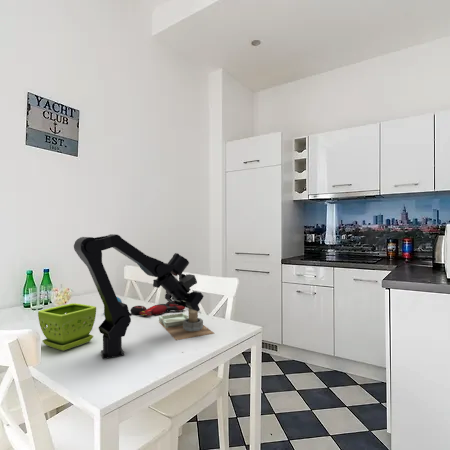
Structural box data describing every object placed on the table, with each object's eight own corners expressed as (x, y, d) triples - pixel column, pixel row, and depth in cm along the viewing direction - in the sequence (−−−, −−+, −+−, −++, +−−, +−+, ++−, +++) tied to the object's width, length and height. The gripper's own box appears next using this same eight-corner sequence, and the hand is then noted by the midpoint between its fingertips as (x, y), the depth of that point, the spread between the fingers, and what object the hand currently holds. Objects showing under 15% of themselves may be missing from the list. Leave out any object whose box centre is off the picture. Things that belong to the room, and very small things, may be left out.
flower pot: (98, 341, 112) (97, 306, 112) (60, 355, 100) (60, 316, 100) (74, 335, 119) (73, 301, 119) (36, 347, 107) (36, 310, 107)
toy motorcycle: (128, 315, 149) (137, 318, 135) (128, 304, 150) (137, 306, 136) (177, 309, 162) (190, 312, 148) (177, 299, 162) (189, 300, 149)
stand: (214, 336, 116) (214, 325, 116) (175, 343, 109) (175, 331, 109) (191, 318, 139) (191, 309, 139) (157, 323, 132) (157, 313, 132)
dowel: (199, 328, 122) (198, 295, 122) (190, 330, 120) (190, 296, 120) (195, 326, 125) (195, 293, 125) (187, 327, 123) (187, 294, 123)
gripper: (199, 270, 113) (222, 296, 120) (171, 266, 127) (193, 289, 134) (181, 295, 108) (206, 321, 115) (154, 288, 121) (178, 311, 129)
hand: (195, 309), depth 123 cm, fingers closed on dowel, 4 cm apart
